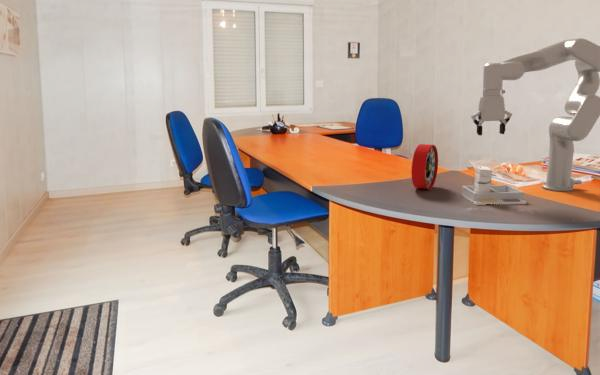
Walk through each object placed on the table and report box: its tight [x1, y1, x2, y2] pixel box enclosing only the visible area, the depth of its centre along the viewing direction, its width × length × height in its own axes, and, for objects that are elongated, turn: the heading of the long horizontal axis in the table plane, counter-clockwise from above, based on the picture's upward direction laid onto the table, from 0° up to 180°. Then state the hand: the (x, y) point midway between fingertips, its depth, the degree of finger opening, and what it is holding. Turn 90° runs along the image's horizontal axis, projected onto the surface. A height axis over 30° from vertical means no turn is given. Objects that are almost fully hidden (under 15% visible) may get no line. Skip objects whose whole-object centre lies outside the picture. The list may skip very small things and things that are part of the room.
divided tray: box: [461, 184, 527, 206], centre depth 203 cm, size 20×17×4 cm
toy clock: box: [410, 143, 439, 190], centre depth 222 cm, size 20×6×20 cm, turn 149°
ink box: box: [473, 165, 493, 193], centre depth 203 cm, size 9×5×12 cm, turn 173°
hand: (490, 134), depth 211 cm, fingers open, 9 cm apart
